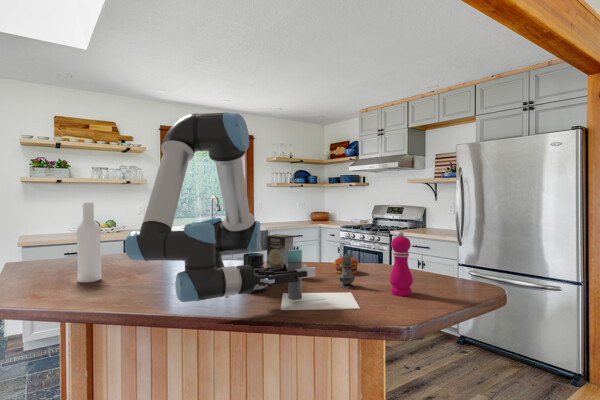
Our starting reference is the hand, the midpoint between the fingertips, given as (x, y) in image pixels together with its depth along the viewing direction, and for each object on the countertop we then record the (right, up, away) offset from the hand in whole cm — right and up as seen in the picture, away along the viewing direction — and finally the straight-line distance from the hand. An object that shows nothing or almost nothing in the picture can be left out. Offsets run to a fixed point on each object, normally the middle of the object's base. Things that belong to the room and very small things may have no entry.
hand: (310, 270), depth 107 cm
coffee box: (-11, -9, +34) cm, 37 cm away
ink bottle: (-19, -9, +13) cm, 25 cm away
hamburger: (+16, -9, +39) cm, 43 cm away
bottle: (-84, -10, +29) cm, 89 cm away
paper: (+2, -9, -1) cm, 9 cm away
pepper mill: (+29, -9, +7) cm, 31 cm away
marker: (-5, -8, -3) cm, 9 cm away
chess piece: (+13, -9, +17) cm, 23 cm away
